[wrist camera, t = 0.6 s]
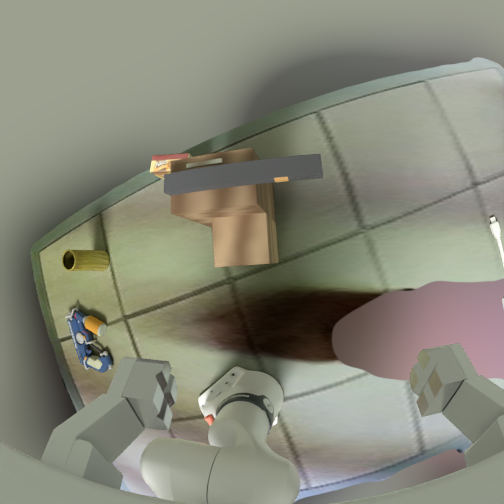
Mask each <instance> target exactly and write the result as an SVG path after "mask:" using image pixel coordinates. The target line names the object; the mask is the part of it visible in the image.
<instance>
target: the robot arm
mask: <svg viewBox="0 0 504 504" xmlns="http://www.w3.org/2000/svg"><path fill="white" fill-rule="evenodd" d="M417 358H418V360H419V362H418V363H417V364H415V365H414V366H413V368H412V371H411V373H410V384H411V388H412V391H413V392H414V393H415V394H417V395H418V399H417V404H418V407H419V410H420V413H421V415H422V417H423V416H428V415H432V414H437V413H441V412H442V414H443V415H444V416H445V417H446V418H447V419H448V420H449V421H450V422H451V423H453V424H454V425H455V426H456V427H457V428H458V429H459V430H460V431H461V432H462V433H463V434H464V435H465V436H466V437H467V438H468V439H469V440H470V441H471V442H472V443H473V444H472V445H471V446H470V447H469V448H468V449H467V450H466V451H465V453H464V458H465V461H466V464H467V468H465V469H462V470H460V471H457V472H455V473H452V474H449V475H446V476H444V477H441V478H438V479H435V480H432V481H429V482H426V483H423V484H420V485H417V486H413V487H409V488H406V489H402V490H398V491H395V492H391V493H386V494H382V495H377V496H373V497H368V498H363V499H358V500H351V501H345V502H338V503H331V504H504V390H503V389H502V388H500V387H499V386H497V385H496V384H494V383H493V382H491V381H490V380H488V379H487V378H485V377H484V376H482V375H480V376H478V374H477V372H476V370H475V369H474V367H473V365H472V363H471V361H470V360H469V358H468V356H467V354H466V353H465V351H464V349H463V348H462V346H461V345H460V344H459V343H456V344H451V345H447V346H445V345H444V346H440V347H435V348H429V349H423V350H422V351H421V352H420V353H419V355H418V357H417ZM170 372H171V366H170V363H169V361H161V360H151V359H143V358H134V357H124V358H123V359H122V360H121V361H120V364H119V366H118V368H117V371H116V373H115V375H114V378H113V380H112V382H111V385H110V387H109V390H108V392H107V394H102V395H100V396H99V397H98V398H96V399H95V400H94V401H92V402H91V403H90V404H88V405H87V406H85V407H84V408H83V409H81V410H80V411H79V412H77V413H76V414H75V415H73V416H72V417H70V418H69V419H68V420H66V421H65V422H64V423H62V424H61V425H59V426H58V427H57V428H55V429H54V430H53V432H52V435H51V437H50V439H49V442H48V444H47V447H46V449H45V451H44V454H43V456H42V459H41V461H39V460H36V459H34V458H32V457H30V456H28V455H26V454H24V453H22V452H20V451H18V450H16V449H14V448H12V447H10V446H8V445H6V444H5V443H3V442H1V441H0V504H293V503H294V501H295V500H296V498H297V496H298V494H299V491H300V476H299V473H298V471H297V469H296V467H295V466H294V465H293V463H292V462H291V461H289V460H287V459H285V458H283V457H281V456H279V455H278V454H276V453H275V452H274V451H272V450H271V449H270V448H269V446H268V445H267V444H266V439H267V435H268V434H269V432H270V430H271V428H272V426H273V425H275V424H276V423H277V421H278V413H279V410H280V409H281V407H282V404H283V400H284V395H283V391H282V388H281V386H280V385H279V383H278V382H277V381H276V380H275V379H274V378H273V377H271V376H270V375H268V374H266V373H263V372H259V371H248V370H245V369H243V368H241V367H238V366H235V367H233V368H232V369H231V370H230V371H229V372H227V373H226V374H225V375H224V376H223V377H222V378H220V379H219V380H218V381H217V382H216V383H215V384H213V385H212V386H211V387H210V388H209V389H207V390H206V391H205V392H204V393H203V394H201V395H200V396H199V398H198V402H199V406H200V409H201V411H202V413H203V414H204V416H205V420H206V421H207V422H208V423H209V425H210V428H209V432H208V439H209V442H210V445H208V444H203V443H199V442H194V441H190V440H186V439H174V438H157V439H155V440H153V441H152V442H151V443H149V444H148V445H147V446H146V448H145V449H144V451H143V453H142V455H141V459H140V469H141V473H142V476H143V478H144V480H145V482H146V483H147V484H148V485H149V486H150V488H151V489H152V490H153V491H154V493H155V494H156V496H157V497H158V498H155V497H150V496H145V495H140V494H136V493H132V492H128V491H124V490H120V487H121V483H122V479H123V475H122V473H121V472H120V471H119V470H118V469H117V468H116V467H115V466H114V465H113V464H112V462H113V461H114V460H115V459H116V458H117V457H118V456H119V455H120V454H121V453H122V452H123V451H124V450H125V449H126V448H127V447H128V446H129V445H130V444H131V443H132V442H133V441H134V440H135V439H136V438H137V437H138V436H139V435H140V434H141V433H142V432H143V431H144V430H145V428H149V429H158V430H167V431H169V428H170V423H171V419H172V415H173V414H172V412H171V410H170V407H171V406H173V405H174V404H175V402H176V397H177V384H176V380H175V377H174V376H173V375H171V374H170ZM232 373H234V374H235V375H232ZM203 405H204V406H203Z"/></svg>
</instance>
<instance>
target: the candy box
mask: <svg viewBox="0 0 504 504" xmlns="http://www.w3.org/2000/svg"><path fill="white" fill-rule="evenodd" d="M190 157H193V156H191V155H190V154H189V153H180V154H166V155H153V156H152V162H151V169H150V172H151V173H153V174H155V175H156V176H158V177H160V178H162V179H163V180H164V174H169V173H170V161H174V160H179V159H184V158H190Z"/></svg>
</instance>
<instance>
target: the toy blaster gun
mask: <svg viewBox="0 0 504 504" xmlns="http://www.w3.org/2000/svg"><path fill="white" fill-rule="evenodd" d="M76 309H77V311H76V312H75V314H74V310H76ZM68 317H69V318H70V319H68V320H67V321H68V325H69V328H70V332H71V335H72V338H73V341H74V345H75V348H76V351H77V354H78V357H79V360H80V363H82V364H83V365H85V368H86V369H89V368H90V367H91V368H93V369H95V370H98V371H100V372H102V373H103V372H105V371H107V369H108V368H109V369H112V366H111V364H113V363H112V360H111V357H110V355H108V353H107V351H104V353H102V351H101V350H100V349H99V348H98V347H96V346H94V345H93V343H94V342H96V341H97V340H92V339H93V338H92V334H91V332H90V331H92V332H93V333H95V334H96V335H98V336H102V335H104V334H105V332H106V329H107V326H106V324H105V323H104V322H102V321H100V320H98V319H97V318H95V317H93V316H86V315H84V314H83V313H82V312H80V311H79V308H78V307H77V308H73V309H72V312H69V313H68V316H65V318H68ZM89 330H90V331H89ZM88 344H90V345H91V346H92V347H93V348H94V349H96V350H97V351H99V353H100V356H101V357H98V356H96V355H94V354H90V353H92V350H89V349H88V347H89V345H88Z"/></svg>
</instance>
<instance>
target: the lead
mask: <svg viewBox="0 0 504 504" xmlns="http://www.w3.org/2000/svg"><path fill="white" fill-rule="evenodd" d="M322 176H323V171H322V163H321V156H320V154H312V155H300V156H289V157H279V158H270V159H261V160H253V161H245V162H238V163H230V164H223V165H216V166H210V167H204V168H197V169H191V170H186V171H180V172H174V173H169V174H164V193H166V194H168V195H178V194H184V193H191V192H198V191H205V190H213V189H220V188H228V187H236V186H245V185H253V184H262V183H272V182H283V181H293V180H304V179H316V178H322Z"/></svg>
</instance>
